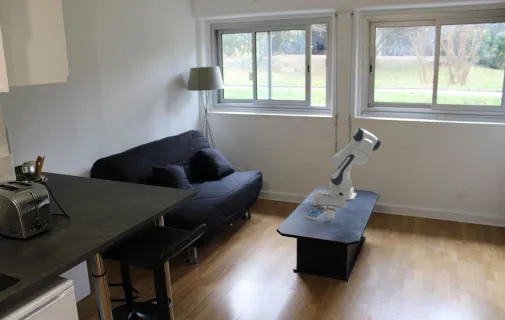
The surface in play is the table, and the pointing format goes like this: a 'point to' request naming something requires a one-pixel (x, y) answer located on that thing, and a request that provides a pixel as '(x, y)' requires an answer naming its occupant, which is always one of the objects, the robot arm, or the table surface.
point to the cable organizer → (316, 196)
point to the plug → (330, 211)
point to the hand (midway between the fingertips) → (330, 211)
